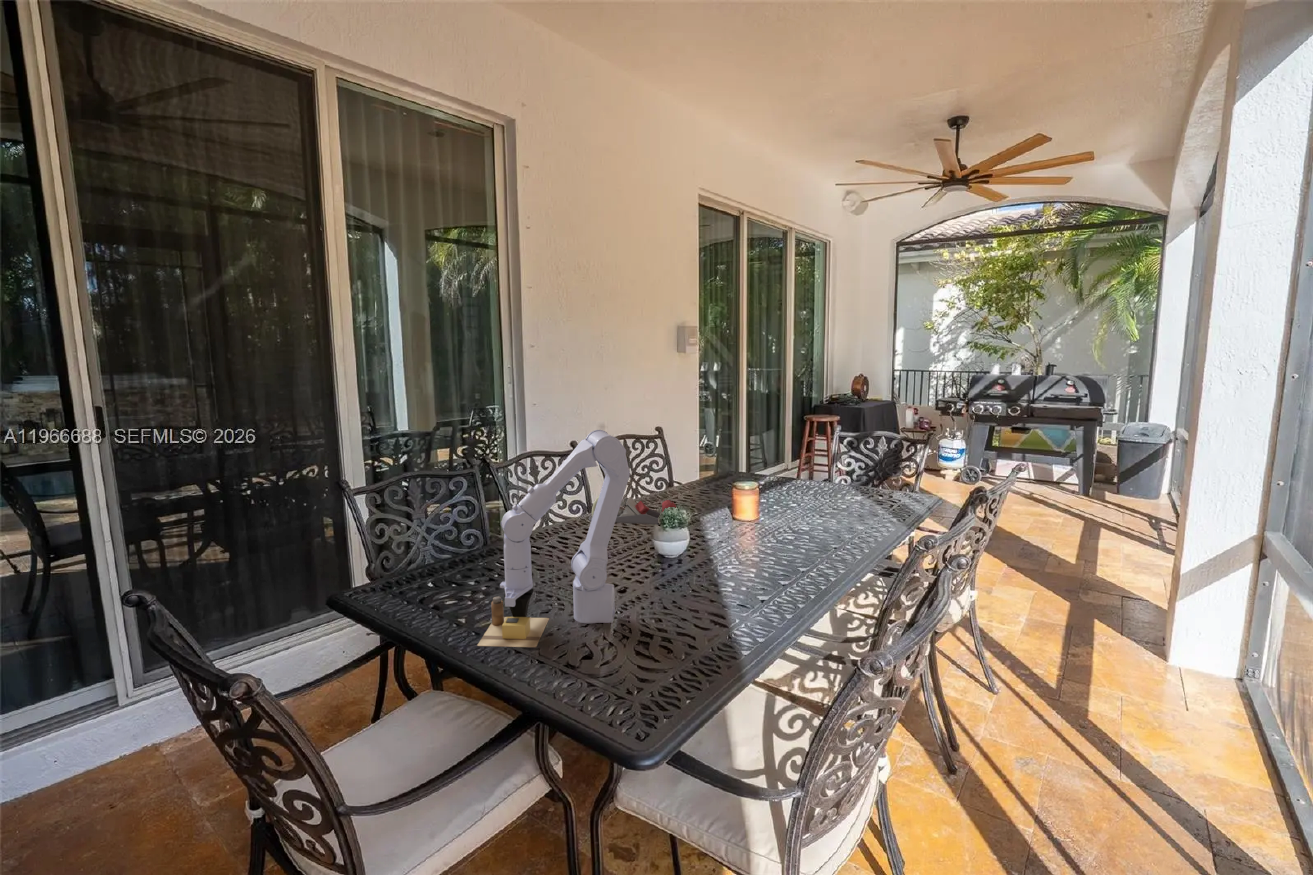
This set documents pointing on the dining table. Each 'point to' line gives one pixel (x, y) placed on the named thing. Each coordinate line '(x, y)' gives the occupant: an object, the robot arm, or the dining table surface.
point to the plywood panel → (495, 639)
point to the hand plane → (636, 512)
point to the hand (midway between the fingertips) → (520, 622)
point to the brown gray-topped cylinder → (497, 611)
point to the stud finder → (516, 627)
